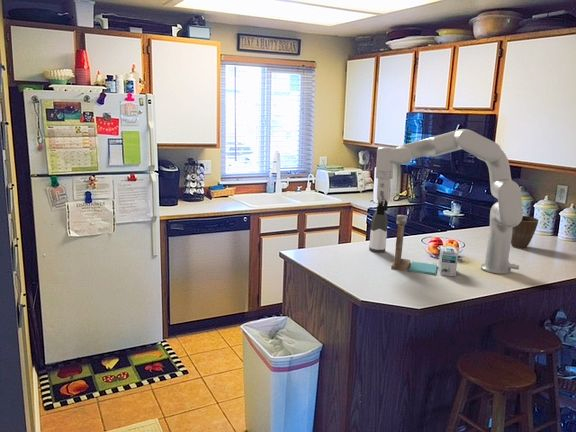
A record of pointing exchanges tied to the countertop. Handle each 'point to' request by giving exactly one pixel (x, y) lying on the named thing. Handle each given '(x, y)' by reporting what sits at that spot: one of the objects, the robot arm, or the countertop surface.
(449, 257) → the light bulb box
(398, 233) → the wooden stand
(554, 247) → the countertop surface
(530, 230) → the plant pot
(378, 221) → the wine bottle
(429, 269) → the mat
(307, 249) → the countertop surface
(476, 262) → the countertop surface
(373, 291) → the countertop surface
